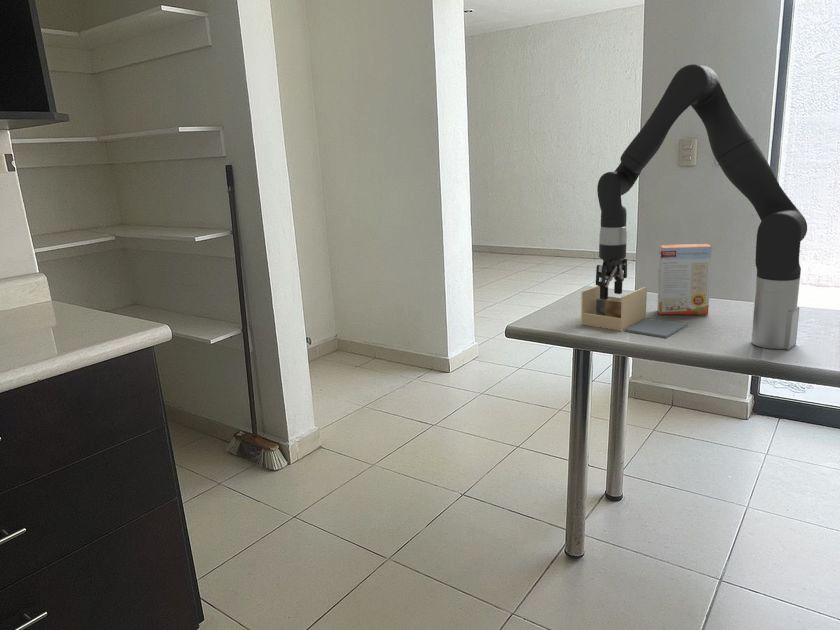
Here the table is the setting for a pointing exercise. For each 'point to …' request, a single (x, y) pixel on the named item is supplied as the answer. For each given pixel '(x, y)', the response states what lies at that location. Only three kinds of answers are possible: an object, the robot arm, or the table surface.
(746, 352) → the table surface
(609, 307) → the box
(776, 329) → the robot arm
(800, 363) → the table surface
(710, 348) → the table surface
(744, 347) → the table surface
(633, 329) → the rubber mat
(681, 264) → the cracker box
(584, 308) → the open wooden box
